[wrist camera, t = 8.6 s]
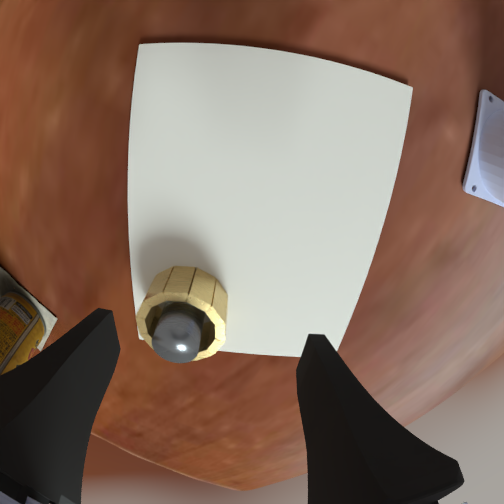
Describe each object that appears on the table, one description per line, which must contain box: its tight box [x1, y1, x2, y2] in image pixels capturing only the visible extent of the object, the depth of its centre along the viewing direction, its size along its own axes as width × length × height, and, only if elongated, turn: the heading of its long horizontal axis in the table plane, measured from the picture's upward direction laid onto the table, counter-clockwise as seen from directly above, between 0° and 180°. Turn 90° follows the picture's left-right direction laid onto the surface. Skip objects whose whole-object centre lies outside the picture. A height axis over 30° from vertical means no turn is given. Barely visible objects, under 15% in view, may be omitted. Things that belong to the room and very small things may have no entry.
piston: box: [152, 301, 205, 363], centre depth 18 cm, size 3×3×4 cm
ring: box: [136, 266, 228, 361], centre depth 19 cm, size 6×6×3 cm
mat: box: [128, 43, 413, 357], centre depth 18 cm, size 16×21×1 cm
